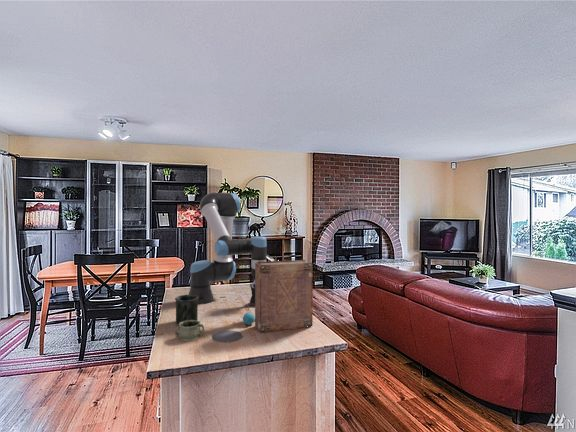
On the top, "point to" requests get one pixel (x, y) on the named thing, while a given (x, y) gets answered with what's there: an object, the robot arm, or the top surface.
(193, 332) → the vessel
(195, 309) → the mug
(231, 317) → the top surface
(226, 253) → the robot arm
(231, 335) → the disc
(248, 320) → the ball
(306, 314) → the book
